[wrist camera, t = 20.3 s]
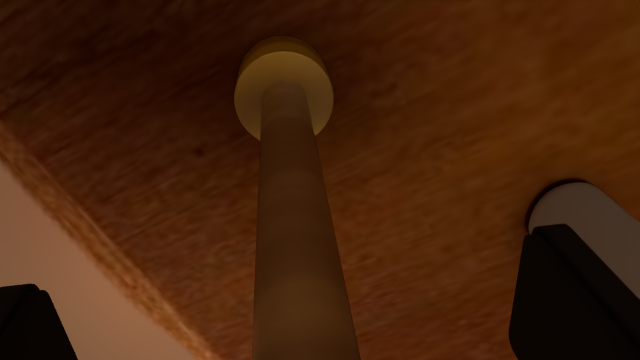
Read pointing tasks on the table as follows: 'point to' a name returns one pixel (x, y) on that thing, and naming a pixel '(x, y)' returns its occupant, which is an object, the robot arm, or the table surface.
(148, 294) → the table surface
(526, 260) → the robot arm
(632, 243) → the beverage can
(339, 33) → the table surface
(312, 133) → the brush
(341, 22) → the table surface
